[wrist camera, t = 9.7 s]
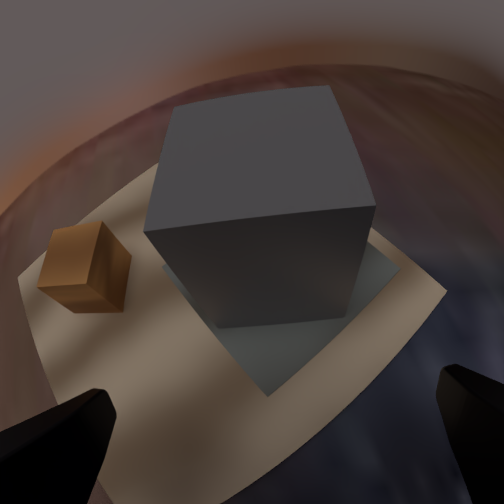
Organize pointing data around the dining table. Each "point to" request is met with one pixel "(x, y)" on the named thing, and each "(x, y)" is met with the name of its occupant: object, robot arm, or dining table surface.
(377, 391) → the dining table surface
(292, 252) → the charcoal cover
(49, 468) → the robot arm
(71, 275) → the orange block
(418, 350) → the dining table surface
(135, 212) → the birch board
